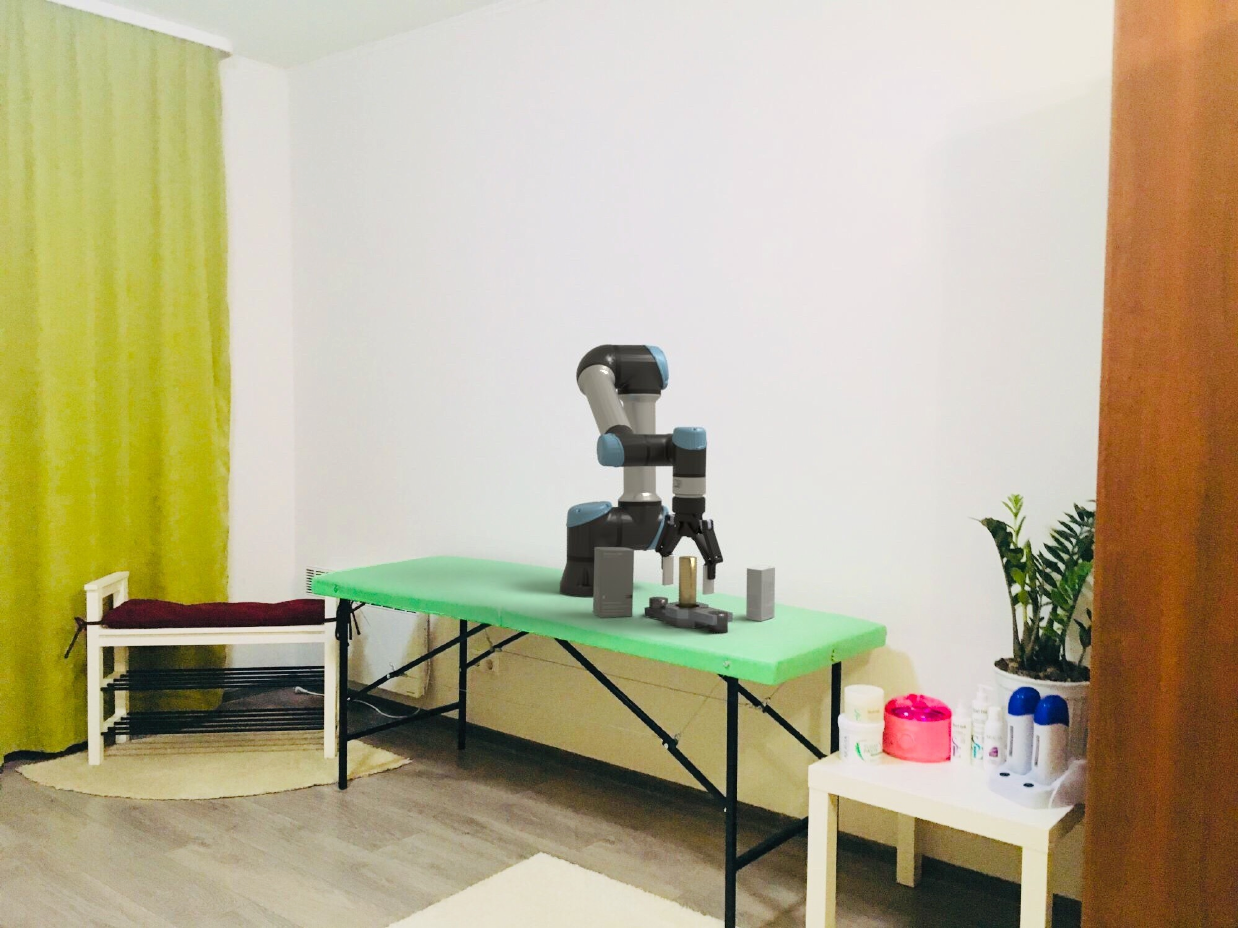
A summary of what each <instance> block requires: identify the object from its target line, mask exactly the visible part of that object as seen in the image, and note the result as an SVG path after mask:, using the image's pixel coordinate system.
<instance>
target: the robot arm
mask: <svg viewBox="0 0 1238 928" xmlns="http://www.w3.org/2000/svg"><path fill="white" fill-rule="evenodd" d="M575 373H576V375H575V377H576V384H577V387H578V389H579V391H580V392H581V394H583V395H584V396H585V397H586V398H587V399H586V400H587V402H588V405H589V407H590V410H591V413H592V415H593V417H594V421H595V424H596V427H597V429H598V432H599V434H600V435H599V436H598V439H597V442H596V455H597V457H596V458H597V461H598V463H599V464H600V466H602V467H610V468H611V467H613V468H623V481H622V482H623V493H622V494H621V496H619V498H618V499H617V506H613V505H612V502H611V501H607V500H605V501H604V500H602V501H588V502H584V503H579V504H575V505H572V506H571V507H570V508H568V510H567V515H566V524H565V526H566V563H565V566H564V569H563V573H562V575H561V576H562V577H561V580H560V582H559V593H561V594H563V595H567V596H574V597H584V598H585V597H589V598H591V597H593V594H594V558H595V550H594V548H595V547H623V548H629V549H632V550H634V551H643V552H644V551H645V552H646V551H649V550H650V551H651V550H654V552H655V553H658V554H659V555H660V557H661V558H660V559H661V561H660V563H661V564H660V565H661V567H660V569H661V570H662V572H661V573H662V574H661V575H662V576H661V577H662V581H661V582H662V586H664V587H665V586H671V585H674V561H675V559H674V558H675V557H674V556H673V555H674V553H673V552H674V551H675V549H676V548H677V546H678V545H679V543H680V541H681V540H682V538H684V537H686V538H688V539H689V538H691V540H692V541H694V543H695V546H696V548H697V549H698V552H699V553H700V555H701V557H702V559H703V560H704V563H703V565H702V595H704V596H706V595H712V594H714V593H715V592H714V591H715V580H716V577H717V575H716V571H717V569H716V568H717V567H716V566H717V564H721V563H723V562H724V557H723V554H722V551H721V548H720V545H719V541H718V539H717V535H716V532H715V527H714V526H715V525H714V520H713V519H712V518H711V519H703V515H704V514H705V512H706V504H707V503H706V497H705V496H704V495H705V494H706V493H707V473H706V472H707V446H708V441H707V430H706V429H705V428H704V427H702V426H701V427H700V426H677V427H674V428H673V432H672V433H665V434H664V433H663V434H662V433H661V434H660V433H659V434H657V433H656V430H657V429H656V428H657V427H656V422H657V421H656V417H657V416H656V402H657V401H659V399H661V397H662V391H664V390H666V389H667V387H668V386H669V379H670V377H669V376H670V375H669V374H670V373H669V364H668V360H667V357H666V355H665V352H664V351H663V349H662V348H660V347H659V346H656V345H649V344H648V345H646V344H611V343H610V344H608V343H607V344H600V345H597V346H596V347H593V348H592V349H590V350H589V351H587V352H586V353H585V355H583V357H582V358H581V359H580V361H579V363H578V366H577V368H576V372H575ZM656 467H672V487H671V488H672V491H671V493H672V494H673V495H674V496H672V498H671V511H672V513H671V514H669V513H670V512H669V509H668V507H667V506H665V505H664V504H663V502H662V501H663V500H662V498H661V497H660V496H659V495H658V494H657V471H656V469H657V468H656Z"/></svg>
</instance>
